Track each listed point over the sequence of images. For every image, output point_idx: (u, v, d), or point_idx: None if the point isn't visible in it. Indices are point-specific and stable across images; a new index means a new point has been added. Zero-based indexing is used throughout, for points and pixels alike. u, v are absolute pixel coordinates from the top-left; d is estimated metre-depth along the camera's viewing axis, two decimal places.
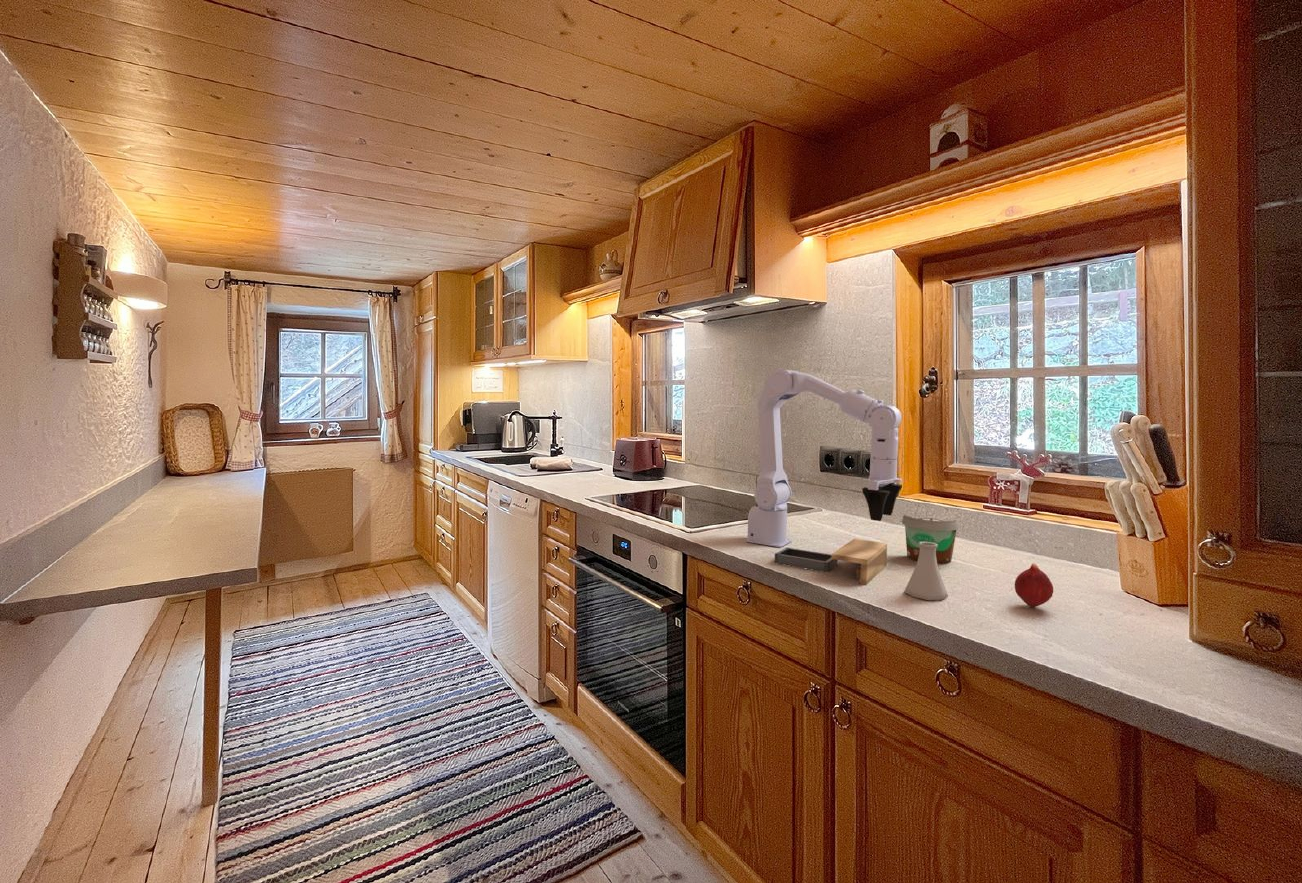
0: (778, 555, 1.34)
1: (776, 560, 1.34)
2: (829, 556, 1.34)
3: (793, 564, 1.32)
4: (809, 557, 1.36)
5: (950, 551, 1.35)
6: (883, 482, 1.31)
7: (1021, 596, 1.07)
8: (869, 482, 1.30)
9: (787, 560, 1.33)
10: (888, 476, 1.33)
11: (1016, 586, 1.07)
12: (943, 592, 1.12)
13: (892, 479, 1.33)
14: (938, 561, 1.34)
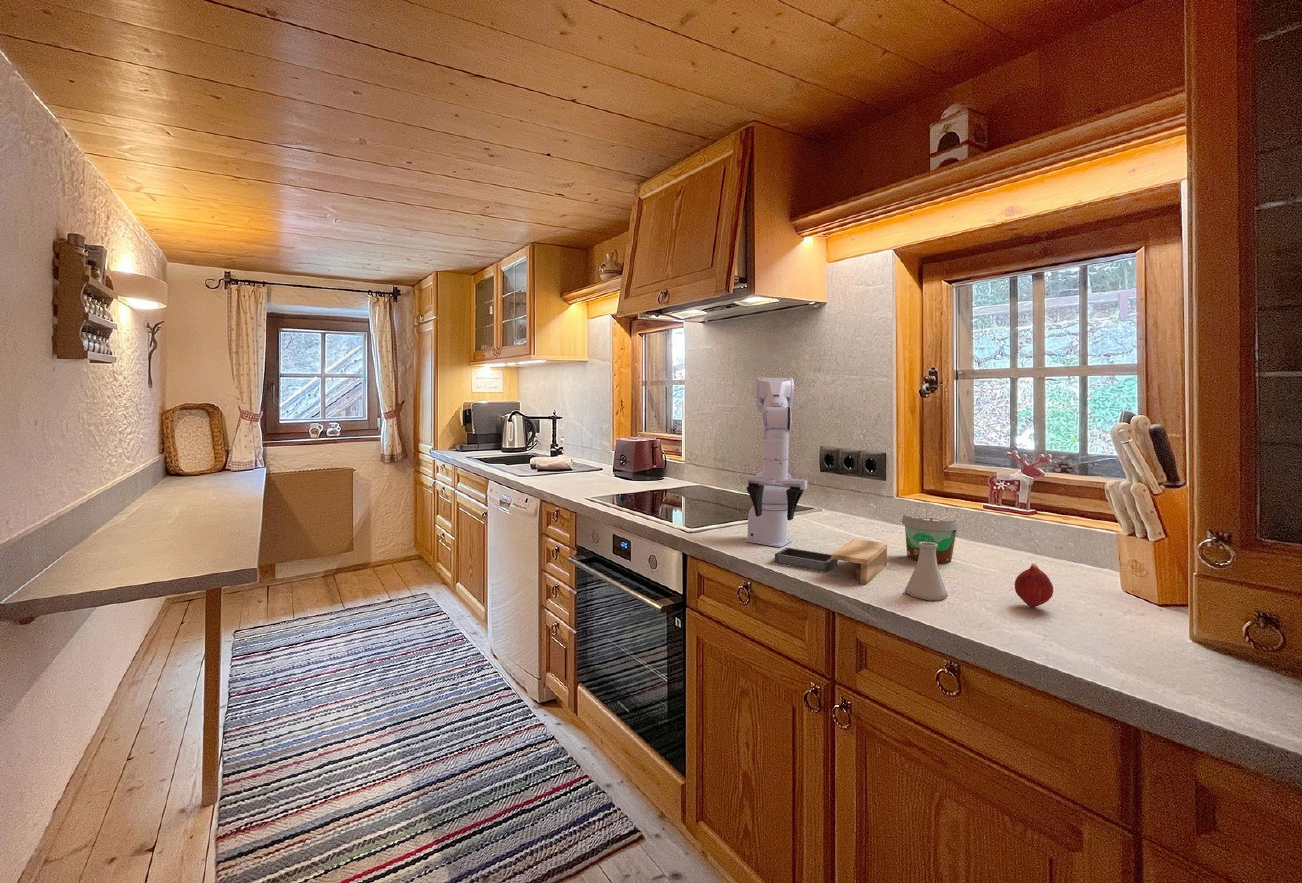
0: (778, 555, 1.34)
1: (777, 560, 1.34)
2: (829, 556, 1.34)
3: (793, 564, 1.32)
4: (809, 557, 1.36)
5: (950, 551, 1.35)
6: (753, 479, 1.39)
7: (1021, 596, 1.07)
8: None
9: (787, 560, 1.33)
10: (763, 475, 1.37)
11: (1016, 586, 1.07)
12: (943, 592, 1.12)
13: (764, 478, 1.36)
14: (938, 561, 1.34)
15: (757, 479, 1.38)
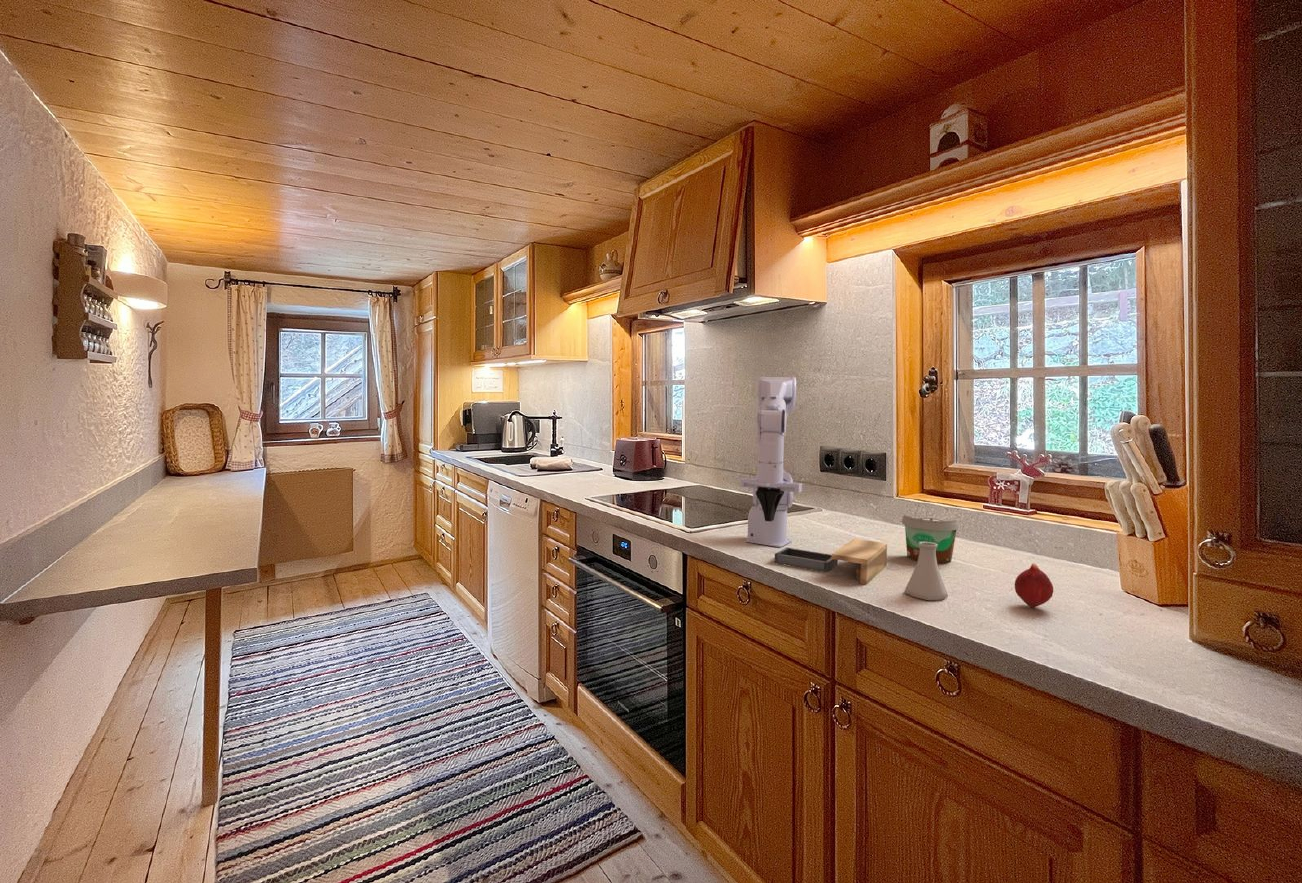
0: (778, 555, 1.34)
1: (777, 560, 1.34)
2: (829, 556, 1.34)
3: (793, 564, 1.32)
4: (809, 557, 1.36)
5: (950, 551, 1.35)
6: (748, 482, 1.39)
7: (1021, 596, 1.07)
8: None
9: (787, 560, 1.33)
10: (758, 477, 1.37)
11: (1016, 586, 1.07)
12: (943, 592, 1.12)
13: (759, 481, 1.36)
14: (938, 561, 1.34)
15: (752, 482, 1.38)
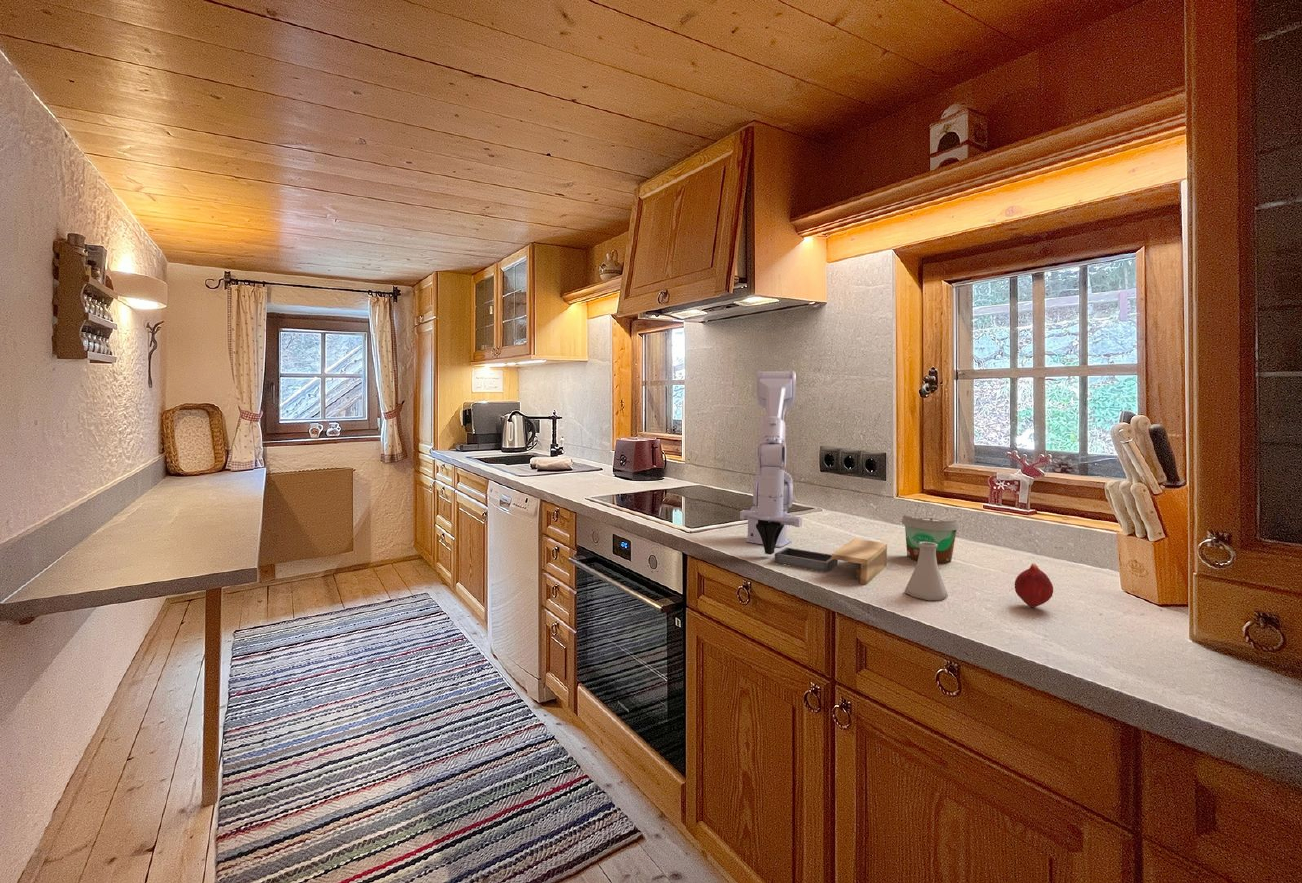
0: (778, 555, 1.34)
1: (777, 560, 1.34)
2: (829, 556, 1.34)
3: (793, 564, 1.32)
4: (809, 557, 1.36)
5: (950, 551, 1.35)
6: (748, 514, 1.39)
7: (1021, 596, 1.07)
8: None
9: (787, 560, 1.33)
10: (758, 511, 1.38)
11: (1016, 586, 1.07)
12: (943, 592, 1.12)
13: (759, 515, 1.37)
14: (938, 561, 1.34)
15: (752, 515, 1.38)
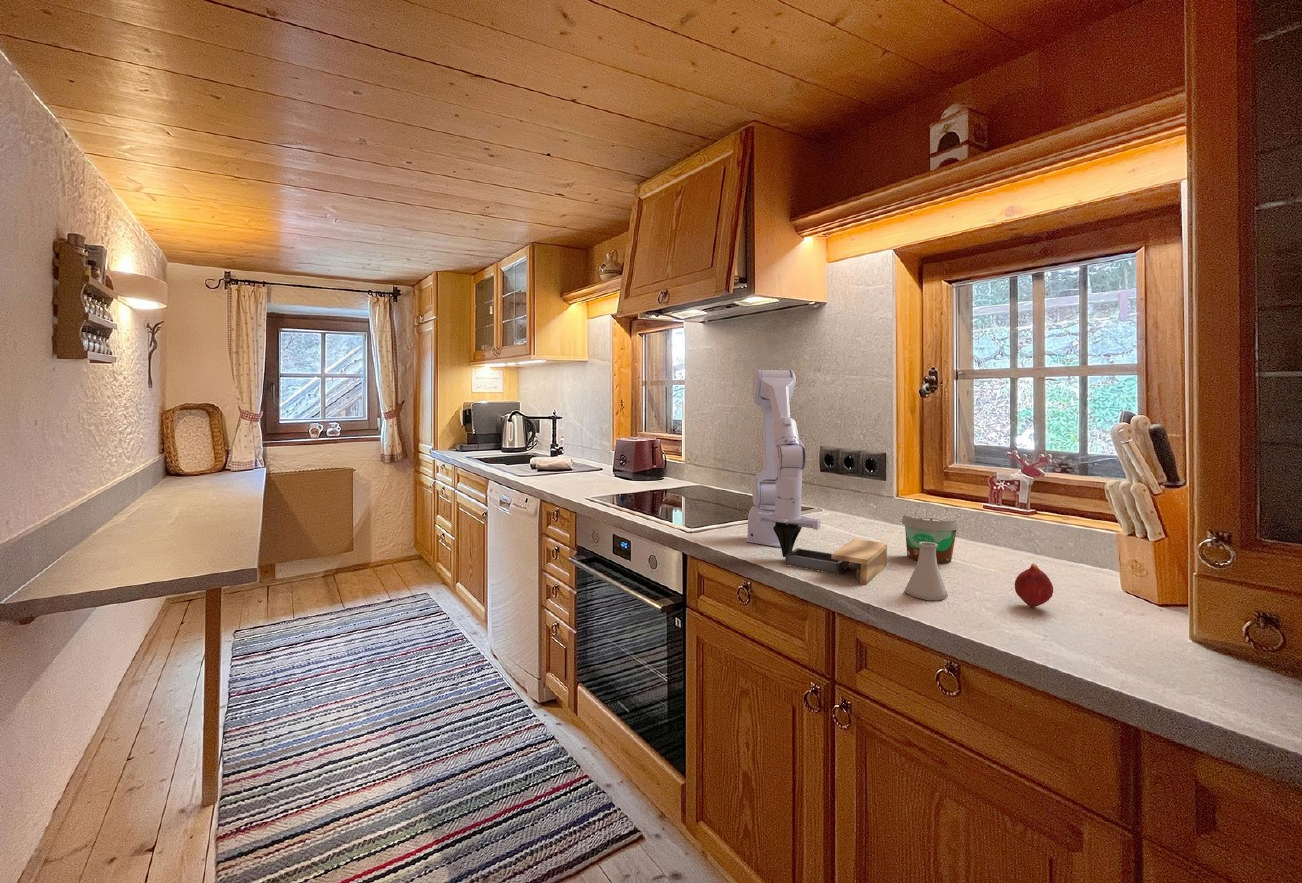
0: (789, 556, 1.32)
1: (787, 560, 1.33)
2: None
3: (804, 565, 1.31)
4: (820, 558, 1.35)
5: (950, 551, 1.35)
6: (765, 516, 1.37)
7: (1021, 596, 1.07)
8: None
9: (798, 561, 1.31)
10: (775, 513, 1.35)
11: (1016, 586, 1.07)
12: (943, 592, 1.12)
13: (776, 517, 1.34)
14: (938, 561, 1.34)
15: (769, 517, 1.36)
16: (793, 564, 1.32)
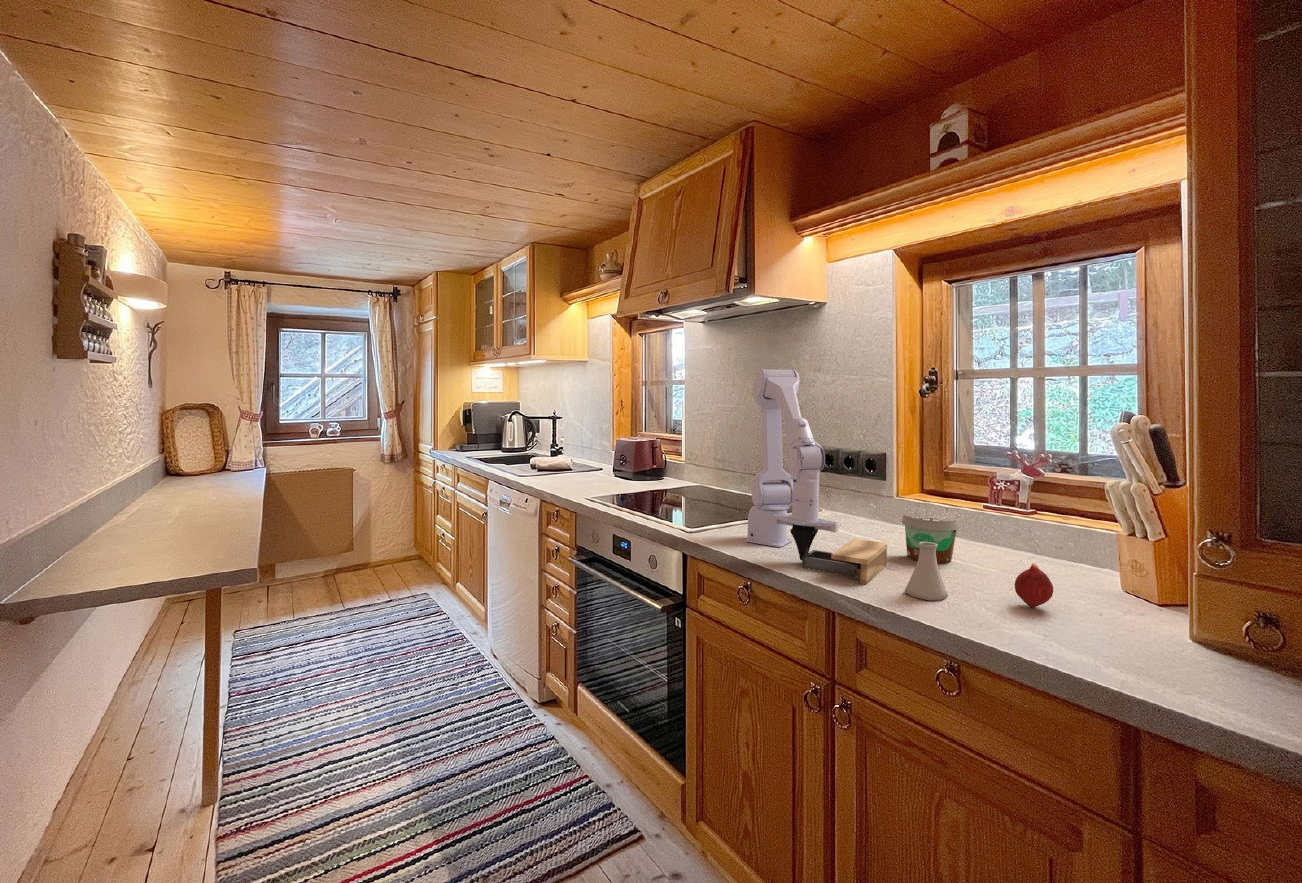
0: (806, 558, 1.30)
1: (804, 562, 1.31)
2: None
3: (822, 567, 1.28)
4: (837, 560, 1.33)
5: (950, 551, 1.35)
6: (782, 519, 1.35)
7: (1021, 596, 1.07)
8: None
9: (815, 563, 1.29)
10: (792, 515, 1.33)
11: (1016, 586, 1.07)
12: (943, 592, 1.12)
13: (793, 519, 1.32)
14: (938, 561, 1.34)
15: (786, 519, 1.34)
16: (810, 566, 1.30)
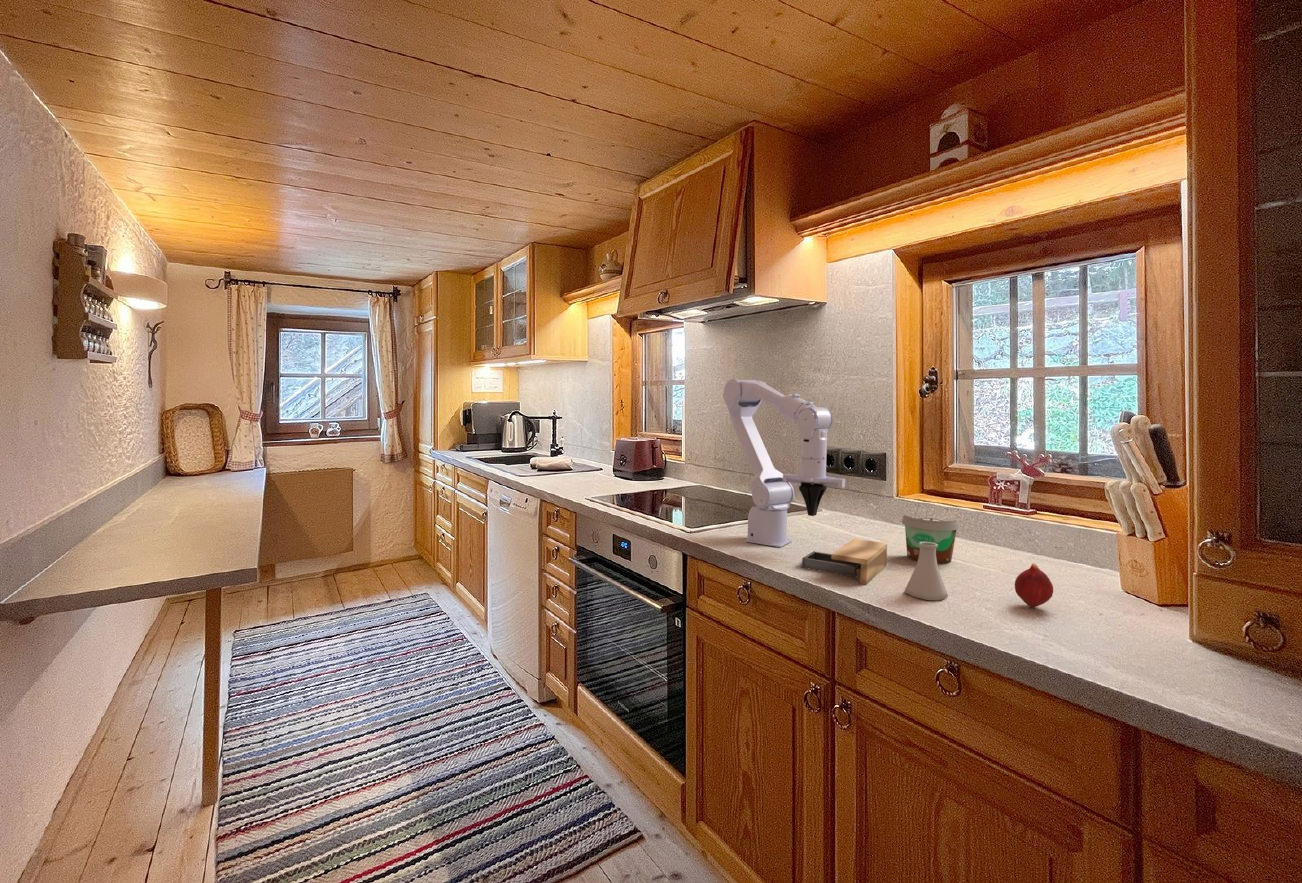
0: (806, 559, 1.30)
1: (804, 564, 1.31)
2: None
3: (822, 569, 1.29)
4: (837, 561, 1.33)
5: (950, 551, 1.35)
6: (791, 477, 1.42)
7: (1021, 596, 1.07)
8: None
9: (815, 564, 1.29)
10: (801, 473, 1.40)
11: (1016, 586, 1.07)
12: (943, 592, 1.12)
13: (802, 477, 1.40)
14: (938, 561, 1.34)
15: (795, 477, 1.41)
16: (810, 568, 1.30)
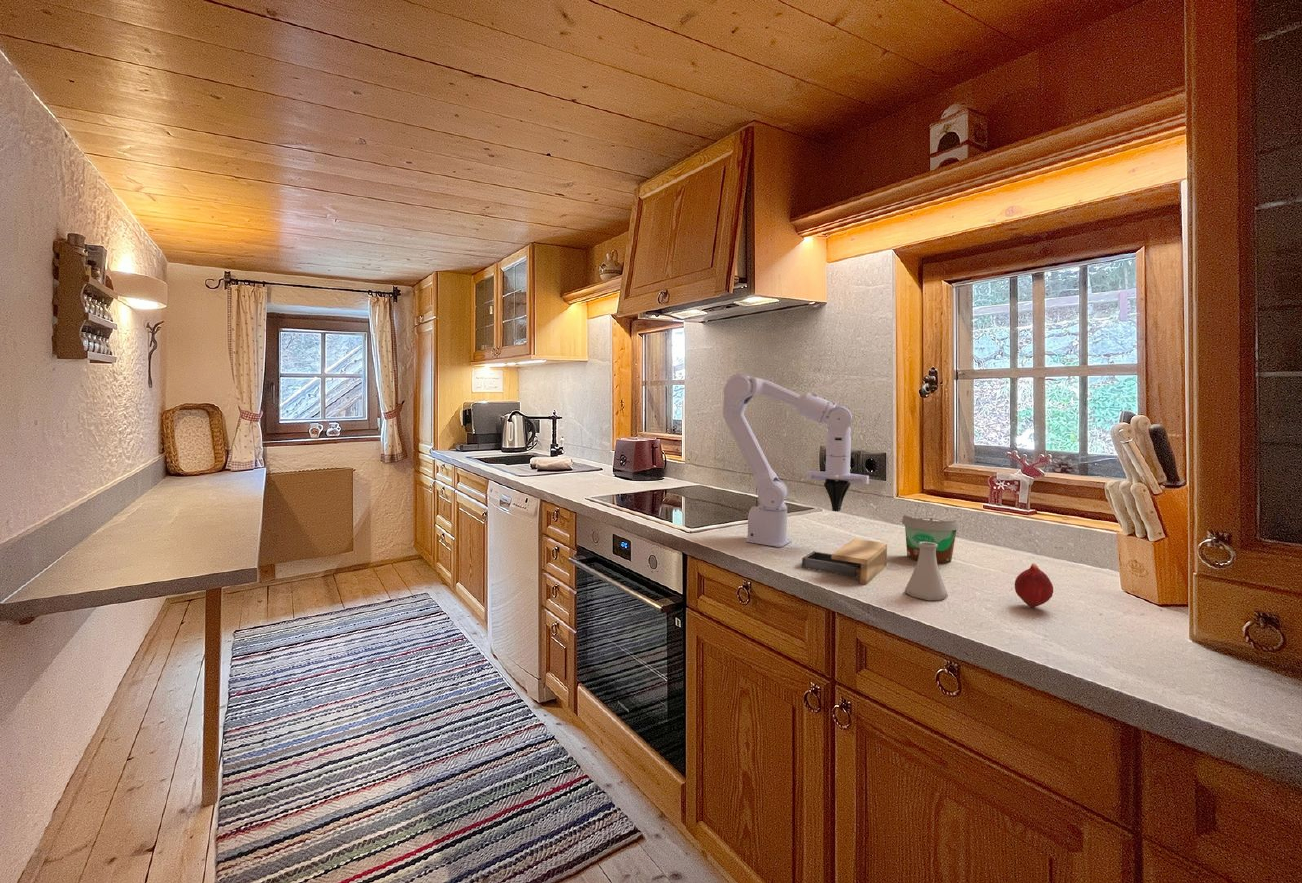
0: (806, 559, 1.30)
1: (804, 564, 1.31)
2: None
3: (822, 569, 1.29)
4: (837, 561, 1.33)
5: (950, 551, 1.35)
6: (816, 474, 1.48)
7: (1021, 596, 1.07)
8: None
9: (815, 564, 1.29)
10: (826, 470, 1.46)
11: (1016, 586, 1.07)
12: (943, 592, 1.12)
13: (827, 474, 1.45)
14: (938, 561, 1.34)
15: (820, 474, 1.46)
16: (810, 568, 1.30)
